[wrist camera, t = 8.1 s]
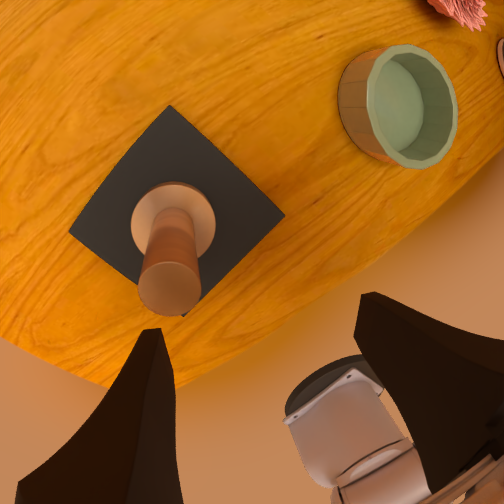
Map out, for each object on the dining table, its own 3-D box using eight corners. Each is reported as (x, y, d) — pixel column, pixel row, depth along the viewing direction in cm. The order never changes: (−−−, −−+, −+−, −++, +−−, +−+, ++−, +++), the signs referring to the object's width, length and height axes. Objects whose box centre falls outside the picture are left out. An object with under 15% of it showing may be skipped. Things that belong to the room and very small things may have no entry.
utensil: (178, 273, 19) (180, 359, 12) (117, 226, 17) (81, 296, 10) (230, 218, 19) (263, 282, 12) (170, 163, 16) (159, 196, 9)
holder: (381, 182, 20) (411, 194, 17) (314, 92, 17) (340, 89, 14) (439, 118, 19) (470, 123, 16) (386, 33, 16) (417, 25, 12)
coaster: (183, 314, 21) (183, 317, 21) (69, 229, 17) (68, 231, 17) (283, 214, 20) (285, 215, 19) (169, 105, 15) (169, 104, 15)
